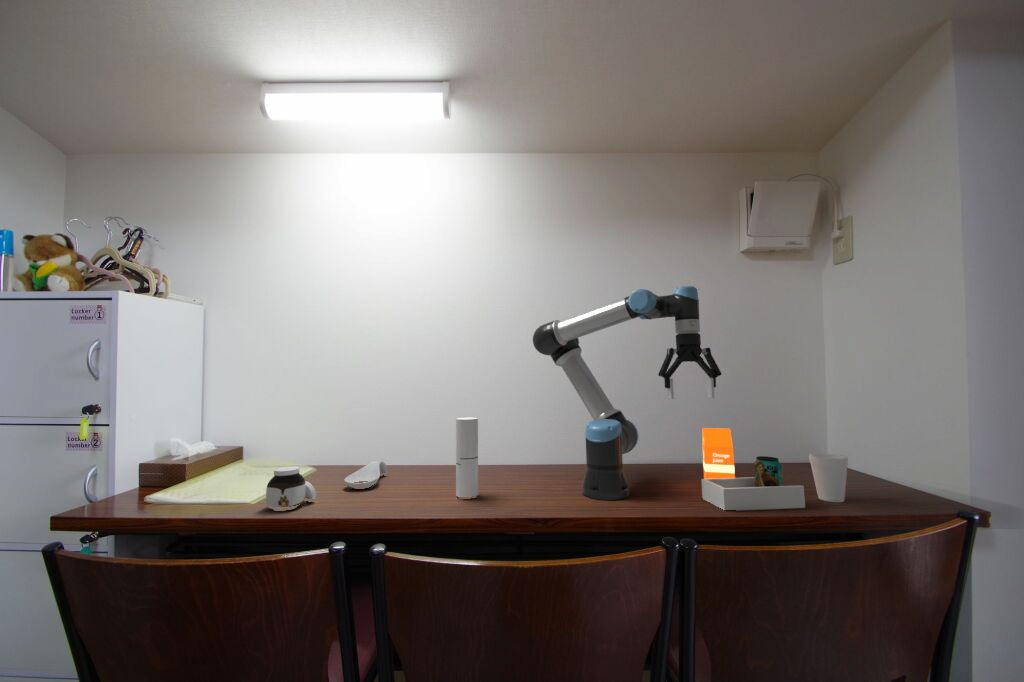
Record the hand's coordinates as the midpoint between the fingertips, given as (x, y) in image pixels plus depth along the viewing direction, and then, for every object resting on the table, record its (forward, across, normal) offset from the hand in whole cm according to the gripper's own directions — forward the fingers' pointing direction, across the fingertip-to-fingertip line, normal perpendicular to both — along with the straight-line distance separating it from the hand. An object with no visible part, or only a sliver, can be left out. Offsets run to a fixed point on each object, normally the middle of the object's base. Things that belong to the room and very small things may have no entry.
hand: (691, 398), depth 136 cm
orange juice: (+31, +12, +7) cm, 34 cm away
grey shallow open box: (+31, +12, -10) cm, 34 cm away
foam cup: (+31, +38, -9) cm, 50 cm away
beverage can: (+30, +18, -10) cm, 36 cm away
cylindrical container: (+31, -73, +7) cm, 80 cm away
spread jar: (+31, -126, +3) cm, 130 cm away
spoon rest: (+31, -110, +29) cm, 118 cm away
